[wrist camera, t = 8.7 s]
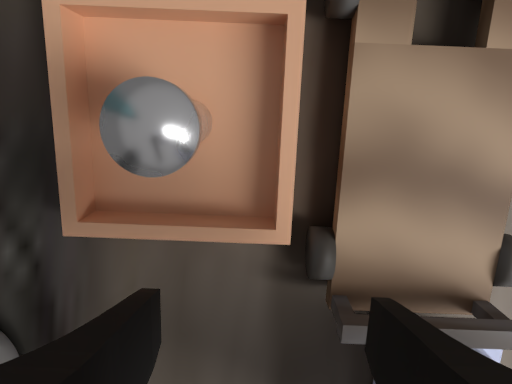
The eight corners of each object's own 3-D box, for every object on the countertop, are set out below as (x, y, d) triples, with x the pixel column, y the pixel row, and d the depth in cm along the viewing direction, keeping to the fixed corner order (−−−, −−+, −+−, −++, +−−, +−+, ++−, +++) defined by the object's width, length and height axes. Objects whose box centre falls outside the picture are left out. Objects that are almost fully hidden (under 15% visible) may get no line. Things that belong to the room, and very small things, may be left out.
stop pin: (220, 155, 20) (197, 180, 12) (159, 150, 20) (100, 174, 12) (222, 92, 19) (200, 79, 12) (159, 87, 19) (97, 72, 12)
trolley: (480, 293, 23) (550, 351, 17) (302, 286, 22) (316, 342, 17) (553, -62, 18) (678, -136, 13) (329, -72, 18) (361, -149, 13)
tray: (285, 226, 22) (290, 244, 19) (89, 218, 21) (62, 236, 19) (299, 13, 19) (306, -5, 16) (73, 3, 19) (40, -17, 16)
